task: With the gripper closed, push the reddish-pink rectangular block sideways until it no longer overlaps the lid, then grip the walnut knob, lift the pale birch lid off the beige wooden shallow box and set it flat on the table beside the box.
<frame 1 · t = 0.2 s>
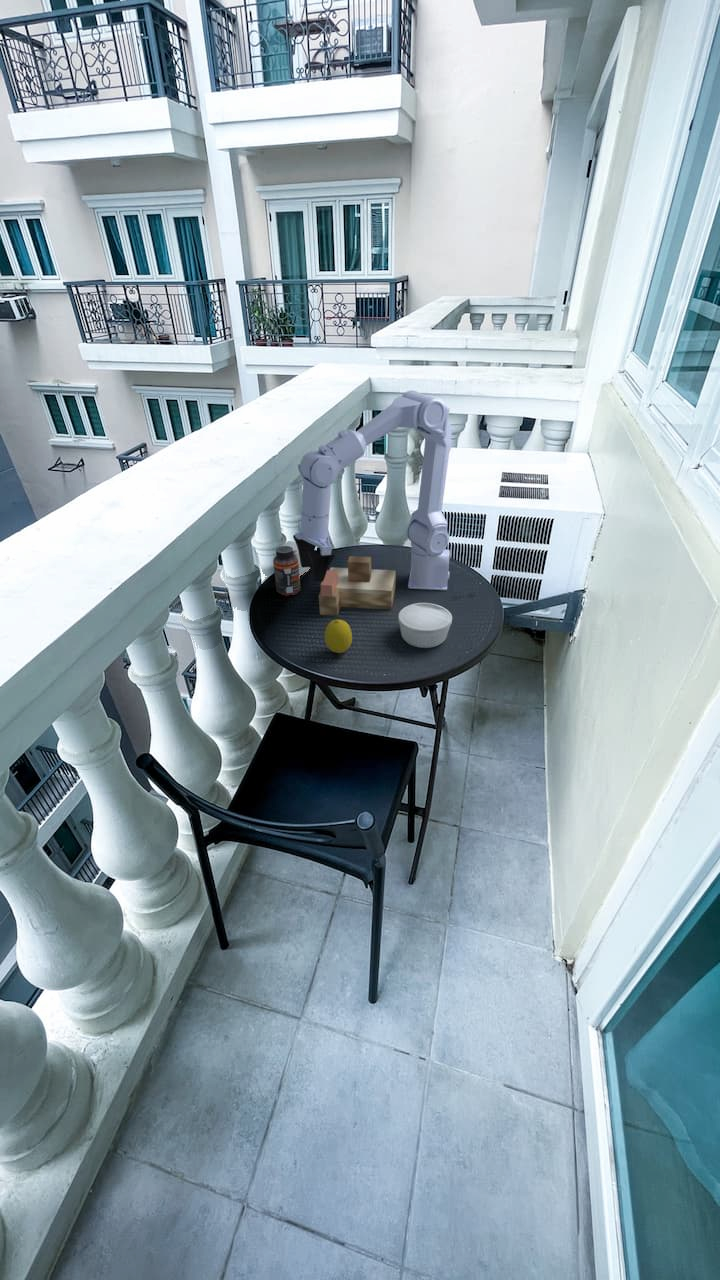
hand: (312, 573, 119), 10 cm above the table, tool pointing down, fingers open, 7 cm apart
reddish-pink rectangular block: (329, 583, 123), point 7 cm above the table, slide at 0.0 cm
beige wooden shallow box: (360, 597, 131), on the table
skincare box: (294, 573, 142), on the table
supplement bottle: (288, 592, 134), on the table
lemon: (339, 653, 112), on the table
lid: (360, 582, 128), point 4 cm above the table, touching beige wooden shallow box
ramekin: (424, 637, 117), on the table
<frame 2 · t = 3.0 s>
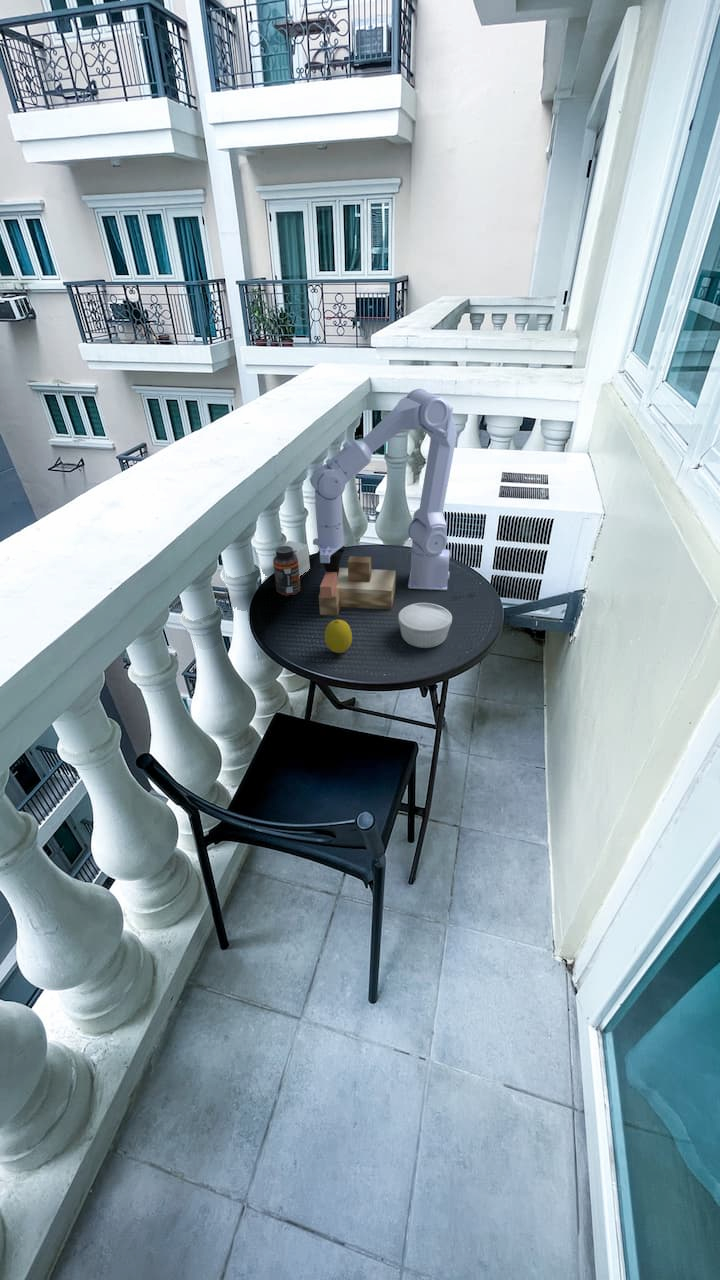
hand: (333, 577, 127), 6 cm above the table, tool pointing down, fingers closed
reddish-pink rectangular block: (329, 584, 122), point 7 cm above the table, slide at 0.7 cm, touching gripper
everything else where it was.
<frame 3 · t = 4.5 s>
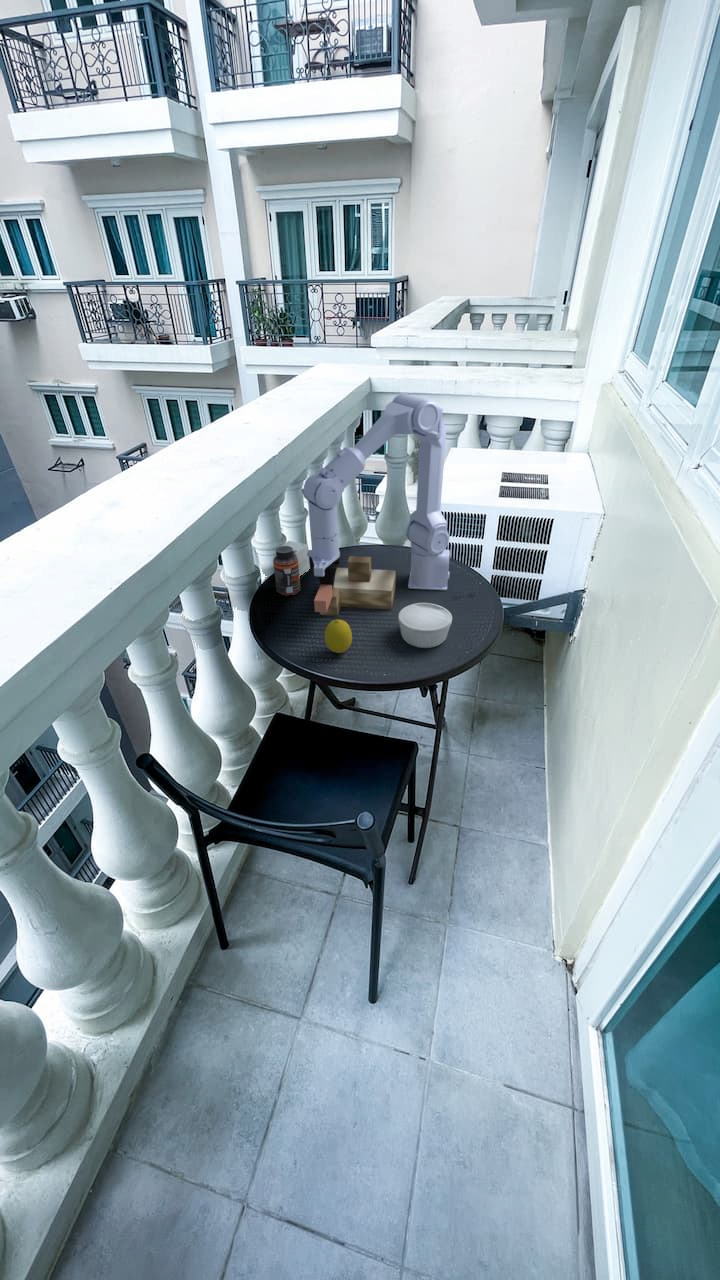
hand: (328, 590, 122), 6 cm above the table, tool pointing down, fingers closed
reddish-pink rectangular block: (323, 598, 117), point 7 cm above the table, slide at 6.7 cm, touching gripper
everything else where it was.
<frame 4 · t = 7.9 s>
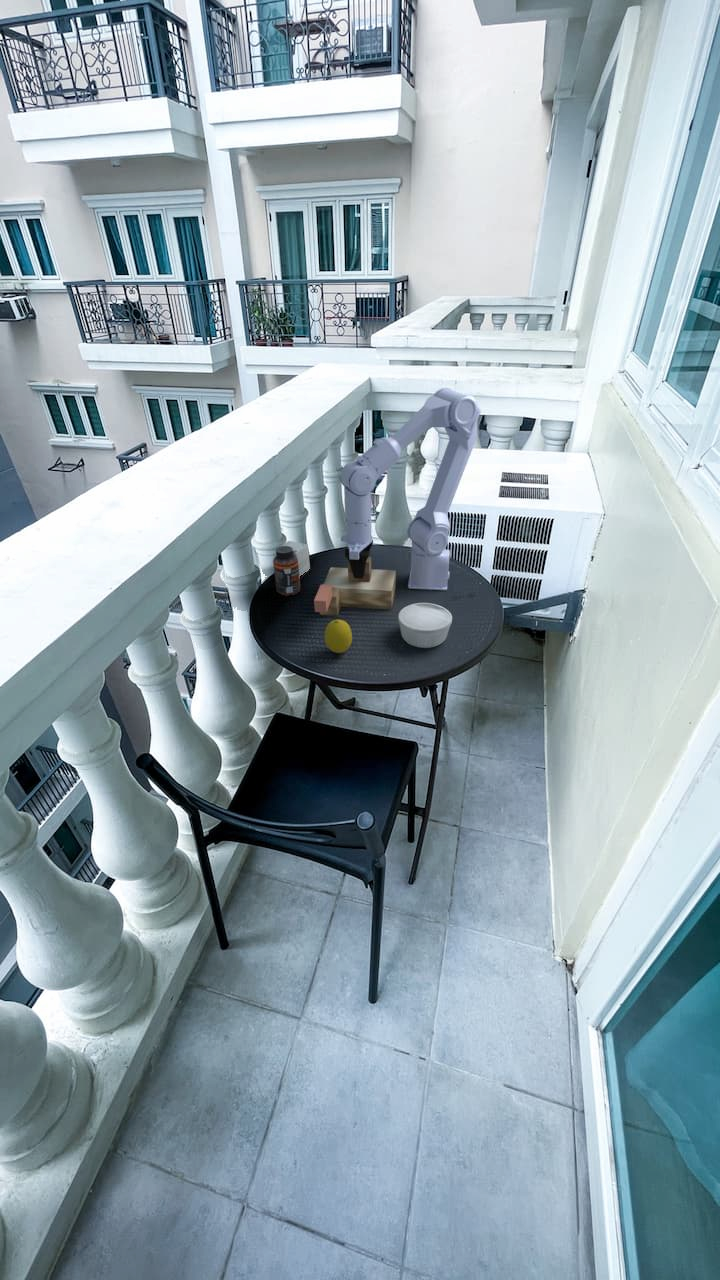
hand: (359, 574, 127), 6 cm above the table, tool pointing down, fingers closed on lid, 3 cm apart
reddish-pink rectangular block: (323, 598, 117), point 7 cm above the table, slide at 6.7 cm
lid: (360, 582, 128), point 4 cm above the table, touching gripper, beige wooden shallow box
everything else where it was.
when the fingers open (4 cm above the table, at t = 11.6 s): lid drops 1 cm, on the table.
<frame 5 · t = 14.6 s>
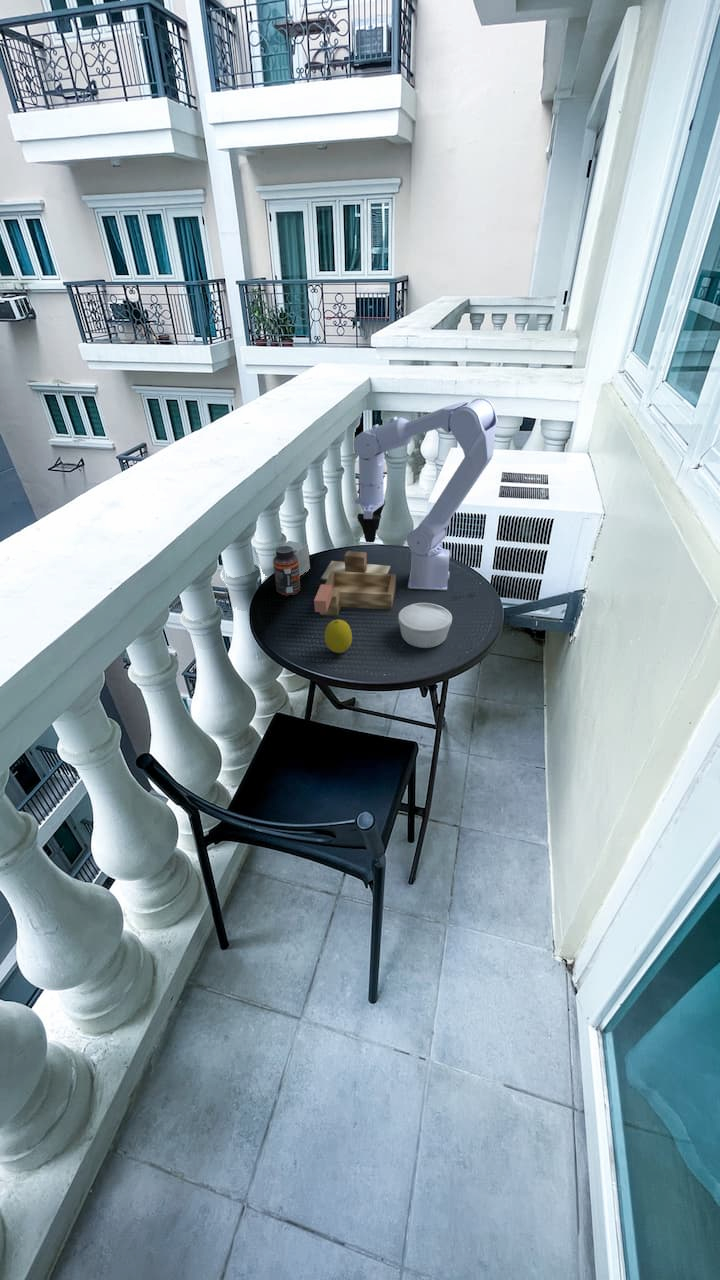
hand: (372, 535, 137), 9 cm above the table, tool pointing down, fingers open, 7 cm apart
lid: (356, 575, 141), on the table
everything else where it was.
at the end: reddish-pink rectangular block slide at 6.7 cm; lid inside the target area (0.1 cm from its centre), on the table; lid tilted 0° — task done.
